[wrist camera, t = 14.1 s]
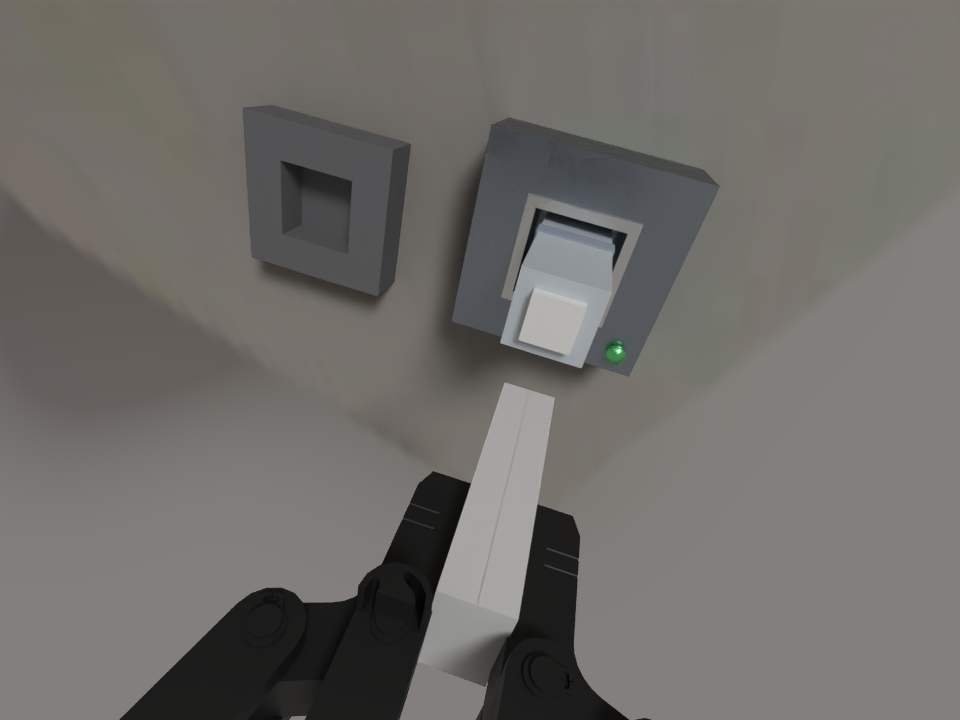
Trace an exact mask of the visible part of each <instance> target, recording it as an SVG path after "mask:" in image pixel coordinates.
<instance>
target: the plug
mask: <svg viewBox="0 0 960 720" xmlns="http://www.w3.org/2000/svg"><path fill="white" fill-rule="evenodd" d="M614 253H615V245H614V244H612V229H609V228H606V227H602V226H599V225H595V224H592V223H588V222H585V221H581V220H578V219H574V218H570V217H567V216H563V215H560V214H556V213H553V212H549V211H548V212H547V214H546V216H545V218H544V220H543V222H542V224H541V223H540V224H539V226H538V228H537V230H536V234H535V237H534V241H533V243H532V245H531V247H530V249H529V251H528V253H527V256H526V258H525V260H524V262H523V264H522V266H521V270H520V273H519V277H518V280H517V284H516V288H515V291H514V295H513V298H512V302H511V306H510V309H509V313H508V316H507V320H506V324H505V327H504V331H503V334H502V338H501V342H500V343H501V344H505V345H508V346H511V347H514V348H517V349H521V350H524V351H527V352H530V353H533V354H537V355H540V356H543V357H546V358H549V359H553V360H556V361H559V362H562V363H565V364H569V365H572V366H575V367H578V368H582V366H583V363H584V361H585V358H586V356H587V354H588V351H589V349H590V346H591V344H592V341H593V339H594V336H595V334H596V331H597V329H598V326H599V324H600V321H601V319H602V316H603V314H604V312H605V309H606V307H607V304H608V302H609V299H610V297H611V294H612V258H613V255H614Z"/></svg>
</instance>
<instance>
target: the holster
mask: <svg viewBox="0 0 960 720" xmlns="http://www.w3.org/2000/svg"><path fill="white" fill-rule="evenodd" d="M243 119H244V136H245V153H246V169H247V186H248V203H249V220H250V236H251V253H252V258H255V259H259V260H262V261H265V262H268V263H271V264H275V265H278V266H281V267H284V268H288V269H291V270H294V271H297V272H300V273H304V274H307V275H310V276H313V277H316V278H320V279H323V280H326V281H329V282H333V283H336V284H339V285H342V286H345V287H349V288H352V289H355V290H358V291H361V292H365V293H368V294H371V295H374V296H379V295H380V294H382V293H383V292H384V291H385V290H386V289H387V288H388V287H389V286H390V285H391V284H392V283H393V282H394V279H395V271H396V263H397V254H398V246H399V238H400V229H401V221H402V213H403V204H404V196H405V188H406V180H407V171H408V163H409V155H410V146H411V144H409V143H405V142H402V141H398V140H395V139H391V138H387V137H384V136H380V135H377V134H373V133H369V132H366V131H362V130H359V129H355V128H352V127H348V126H344V125H341V124H337V123H334V122H330V121H327V120H323V119H319V118H316V117H312V116H309V115H305V114H301V113H298V112H294V111H291V110H287V109H284V108H280V107H276V106H273V105H269V106H257V107H246V108H243Z"/></svg>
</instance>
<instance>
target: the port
mask: <svg viewBox="0 0 960 720" xmlns="http://www.w3.org/2000/svg"><path fill="white" fill-rule="evenodd" d="M719 187H720V186H719V185H718V184H717V183H716V182H715V181H714V180H713V179H712V178H711V177H710V176H709V175H708V174H707V173H706V172H705V171H704V170H702V169H698V168H695V167H691V166H687V165H683V164H680V163H676V162H672V161H669V160H665V159H661V158H657V157H654V156H650V155H646V154H643V153H639V152H635V151H631V150H628V149H624V148H620V147H617V146H613V145H609V144H605V143H602V142H598V141H594V140H590V139H587V138H583V137H579V136H576V135H572V134H568V133H564V132H561V131H557V130H553V129H550V128H546V127H542V126H538V125H535V124H531V123H527V122H524V121H520V120H516V119H512V118H507V119H505V120H502V121H500V122H497V123H495V124H492V125H491V130H490V135H489V140H488V145H487V150H486V155H485V160H484V164H483V169H482V174H481V179H480V184H479V189H478V194H477V199H476V204H475V209H474V213H473V218H472V223H471V228H470V233H469V238H468V243H467V248H466V253H465V258H464V262H463V267H462V272H461V277H460V282H459V287H458V292H457V297H456V302H455V307H454V311H453V316H452V322H455V323H458V324H462V325H465V326H468V327H471V328H474V329H478V330H481V331H484V332H487V333H490V334H494V335H497V336H500V337H502V334H503V331H504V327H505V324H506V320H507V316H508V313H509V309H510V306H511V302H512V298H513V295H514V291H515V288H516V284H517V280H518V277H519V273H520V270H521V266H522V264H523V262H524V260H525V258H526V256H527V253H528V251H529V249H530V247H531V245H532V243H533V241H534V237H535V234H536V230H537V228H538V226H539V224H540V223H541V224H542V222H543V220H544V218H545V216H546V214H547V212H548V211H549V212H553V213H556V214H560V215H563V216H567V217H570V218H574V219H578V220H581V221H585V222H588V223H592V224H595V225H599V226H602V227H606V228H609V229H612V244H614V245H615V253H614V255H613V258H612V294H611V297H610V299H609V302H608V304H607V307H606V309H605V312H604V314H603V316H602V319H601V321H600V324H599V326H598V329H597V331H596V334H595V336H594V339H593V341H592V344H591V346H590V349H589V351H588V354H587V356H586V358H585V361H584V363H587V364H590V365H593V366H596V367H600V368H603V369H606V370H609V371H613V372H616V373H619V374H622V375H625V376H629V375H630V373H631V371H632V369H633V367H634V365H635V363H636V361H637V359H638V356H639V354H640V352H641V350H642V348H643V346H644V344H645V342H646V340H647V338H648V336H649V333H650V331H651V329H652V327H653V325H654V323H655V321H656V319H657V317H658V315H659V313H660V310H661V308H662V306H663V304H664V302H665V300H666V298H667V296H668V294H669V292H670V290H671V287H672V285H673V283H674V281H675V279H676V277H677V275H678V273H679V271H680V269H681V267H682V264H683V262H684V260H685V258H686V256H687V254H688V252H689V250H690V248H691V246H692V244H693V242H694V239H695V237H696V235H697V233H698V231H699V229H700V227H701V225H702V223H703V221H704V219H705V216H706V214H707V212H708V210H709V208H710V206H711V204H712V202H713V200H714V198H715V196H716V193H717V191H718V189H719Z"/></svg>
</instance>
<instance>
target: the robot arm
mask: <svg viewBox="0 0 960 720" xmlns="http://www.w3.org/2000/svg"><path fill="white" fill-rule="evenodd" d="M554 399H555V398H553V397H550V396H547V395H544V394H540V393H537V392H534V391H531V390H527V389H524V388H521V387H518V386H515V385H511V384H508V383H504V386H503V389H502V392H501V395H500V398H499V401H498V404H497V407H496V410H495V413H494V416H493V419H492V422H491V426H490V429H489V432H488V435H487V438H486V441H485V444H484V447H483V450H482V453H481V456H480V459H479V462H478V465H477V468H476V471H475V474H474V477H473V480H472V483H471V484H470V483H467V482H464V481H461V480H458V479H455V478H452V477H449V476H446V475H443V474H440V473H437V472H434V471H433V472H432V473H431V474H430V475H428V476H427V477H426V478H425V479H424V480H423V481H421V482H420V483H419V484H418V486H417V488H416V490H415V493H414V495H413V497H412V499H411V502H410V504H409V506H408V508H407V510H406V512H405V515H404V517H403V520H402V521H401V523H400V526H399V528H398V530H397V532H396V534H395V536H394V539H393V541H392V543H391V545H390V548H389V550H388V552H387V554H386V556H385V558H384V561H383V563H382V565H380V566H378V567H376V568H375V569H373V570H372V571H370V572H369V573H367V575H366V576H365V577H364V579H363V580H362V581H361V583H360V584H359V586H358V595H357V596H356V597H354V598H351V599H348V600H345V601H341V602H332V603H303V602H302V601H301V600H300V599H299V598H298V596H297V595H296V594H295V593H293V592H291V591H288V590H286V589H283V588H265V589H262V590H259V591H256V592H254V593H251V594H250V595H248V596H247V597H246V598H244V599H243V600H241V601H240V602H239V603H237V604H236V605H235V606H234V607H233V608H232V609H231V610H230V611H229V612H228V613H227V614H226V615H225V616H224V617H223V618H222V619H221V620H220V621H219V622H218V623H217V624H216V625H215V626H214V627H213V628H212V629H211V630H210V631H209V632H208V633H207V634H206V635H205V636H204V637H203V638H202V639H201V640H200V641H199V642H198V643H197V644H196V645H195V646H194V647H193V648H192V649H191V650H190V651H188V652H187V653H186V654H185V656H183V658H181V660H179V661H178V662H177V663H176V664H175V665H174V666H173V667H172V668H171V669H170V670H169V671H168V672H167V673H166V674H165V675H164V676H163V677H162V678H161V679H160V680H159V681H158V682H157V683H156V684H155V685H154V686H153V687H152V688H151V689H150V690H149V691H148V692H147V693H146V694H145V695H144V696H143V697H142V698H141V699H140V700H139V701H138V702H137V703H136V704H135V705H134V706H133V707H132V708H131V709H130V710H129V711H128V712H127V713H126V714H125V715H124V716H123V717H122V718H121V719H120V720H289V719H290V718H291V717H292V716H306V719H305V720H399V719H400V716H401V712H402V710H403V707H404V703H405V700H406V697H407V694H408V690H409V687H410V683H411V680H412V677H413V674H414V671H415V668H416V665H417V662H419V663H422V664H425V665H427V666H430V667H432V668H435V669H438V670H441V671H444V672H446V673H449V674H452V675H454V676H457V677H460V678H463V679H466V680H468V681H471V682H474V683H477V684H479V685H482V686H486V684H487V682H488V685H487V690H486V695H485V701H484V705H483V707H482V709H481V711H480V713H479V715H478V717H477V719H476V720H629V719H627V718H626V717H625V716H623V715H622V714H621V713H620V712H618V711H617V710H616V709H615V708H613V707H612V706H611V705H609V704H608V703H607V702H606V701H604V700H603V699H602V698H601V697H599V696H598V695H597V694H596V693H595V692H594V691H593V690H592V689H591V688H590V686H589V685H588V684H587V682H586V681H585V679H584V678H583V676H582V674H581V672H580V670H579V668H578V665H577V662H576V658H575V654H574V629H575V612H576V597H577V580H578V579H577V575H578V564H579V562H578V558H579V547H580V535H579V532H578V529H577V526H576V524H575V521H574V518H573V516H571V515H568V514H565V513H562V512H559V511H556V510H553V509H550V508H547V507H544V506H541V505H538V504H537V503H538V497H539V491H540V485H541V479H542V473H543V466H544V460H545V454H546V448H547V442H548V436H549V430H550V424H551V417H552V411H553V405H554ZM637 720H650V719H646V718H643V719H637Z"/></svg>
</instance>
